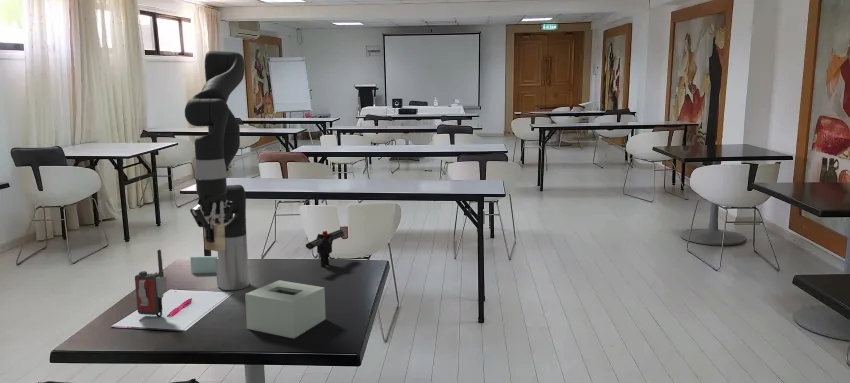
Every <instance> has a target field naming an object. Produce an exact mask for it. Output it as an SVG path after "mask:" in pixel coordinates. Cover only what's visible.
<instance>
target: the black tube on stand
mask: <svg viewBox="0 0 850 383" xmlns="http://www.w3.org/2000/svg"><path fill="white" fill-rule="evenodd" d="M342 237H344V232H343V231H342V230H341V229H338V230H336V231H332V232H330V233H328V231H327V230H325V231H322V233H317V236H316V239H314V240H312V241H310V242H308V243H306V244H305V248H306V249H308V250H312V249H315V248H316V253H317V254H319V259H320V267H321V268H326V266H329V265H330V260H329V259H330V254H331V253H332V252H333V242H334V241H335V240H337V239H339V238H342Z"/></svg>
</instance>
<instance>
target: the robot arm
mask: <svg viewBox="0 0 850 383" xmlns="http://www.w3.org/2000/svg"><path fill="white" fill-rule="evenodd" d="M245 68H246V67H245V59H244V57H243V55H242V54H241V53H240V52H237V51H236V52H235V51H223V50H222V51H221V50H208V51H207V52H206V54H205V58H204V75H205V84H204V85H203V87H202V89H201V91H199V92H198V93H196V94H195V95H193V96H192V97H190V99H189V100H188V101H187V103H186V104H185V108H184V117H185V120H186V121H187V122H188V124H189V125H191V126H192V127H208V129H207V132H208V134H206V135H205V134H204V135H201V136H197V137H196V138H195V140H194V153H195V154H194V155H195V157H194V158H195V164H194V165H195V168H194V170H195V171H194V172H195V185H196V186H195V188H196V190H195V191H196V195H197V196H198V200H197V205H196V206H195V207H191V208H190V210H189V212H190V214H191V215H192V217H193V220H194V221H195V223H196V224H197V226H198V228H203V229H204V228H205V232H206V240H207V242H210V243H213V242H214V229H213V228H214V222H217V223H223V224H224V228H225V250H222V251H217V256H218V258H216V272H217V273H216V284H217V285H216V286H217V287H218V288H219V289H222V290H224V291H236V290H242V289H245V288H247V287H248V286H249V285H250V279H249V278H250V276H249V258H248V256H249V255H248V239H247V238H248V236H247V218H246V217H247V216H246V215H247V214H246V213H247V211H246V210H247V208H246V206H247V204H246V203H247V197H246V196H247V194H246V189H245V188H244V186H243V185H242V184H229V185H227V168H228V167H229V166H230V164H231V162H232V161H233V160H234V158H235V156H236V155H237V153H238V151H239V149H240V145H241V137H240V135H241V132H240V131H241V129H240V124H239V122H238V120H237V118H236V116H235V114H234V113H233V112H232V111H231V109H230V107H229V106H228V104H227V102H228V100H229V97H230V95H231V94H232V92H233V91H234V90H236V88H237V87H238V86H239V85H240V84H241V83H242V82H243V79H244V76H245ZM232 215H233V217H231V216H232ZM230 218H231V219H230ZM208 222H209V224H208Z"/></svg>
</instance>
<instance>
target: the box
mask: <svg viewBox="0 0 850 383" xmlns="http://www.w3.org/2000/svg"><path fill="white" fill-rule="evenodd" d="M325 294H326V293H325V287H322V286H317V285H311V284H306V283H305V284H304V283H298V282H293V281H292V282H291V281H287V280H286V281H285V280H280V279H278V280H276V281H274V282H272V283H269V284H266V285H264V286H261V287H259V288H256V289H254V290H251V291H250V292H246V293H244V295H245V298H244V301H245V314H246V318H245V319H246V329H247V330H252V331H256V332H260V333H261V332H262V333H265V334H271V335H275V336H280V337H285V338H290V339H296V338H297V337H299V336H301V335H302V334H304V333H305V332H307V331H308V330H309V331H310V329H312V328H314V327H315V326H317V325H319V324H320V323H322V322H323V321H325V320H326V295H325Z"/></svg>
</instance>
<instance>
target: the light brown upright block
mask: <svg viewBox="0 0 850 383" xmlns="http://www.w3.org/2000/svg"><path fill="white" fill-rule="evenodd" d="M208 224H209V221H208ZM213 229H214V242H213V243H210V242H207V240H206V232H205V228H203V241H204V250H207V251H215V252H218V251H222V250H225V228H224V224H223V223H217V222H214V228H213Z"/></svg>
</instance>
